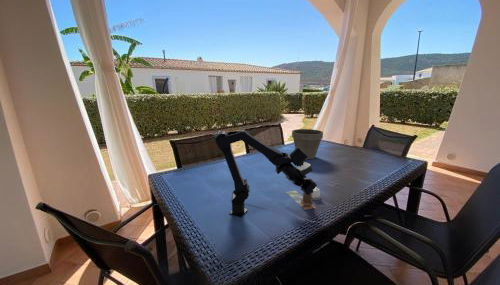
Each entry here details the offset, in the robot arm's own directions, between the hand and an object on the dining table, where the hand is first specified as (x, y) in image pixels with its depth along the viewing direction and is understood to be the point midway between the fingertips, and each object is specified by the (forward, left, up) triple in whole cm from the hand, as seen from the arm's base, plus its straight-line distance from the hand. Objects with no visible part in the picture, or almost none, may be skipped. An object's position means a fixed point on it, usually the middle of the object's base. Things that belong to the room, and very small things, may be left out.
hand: (310, 190), depth 107 cm
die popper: (+10, -1, -9) cm, 13 cm away
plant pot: (+78, +19, -9) cm, 81 cm away
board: (+4, +5, -9) cm, 11 cm away
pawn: (-1, +1, -6) cm, 7 cm away
